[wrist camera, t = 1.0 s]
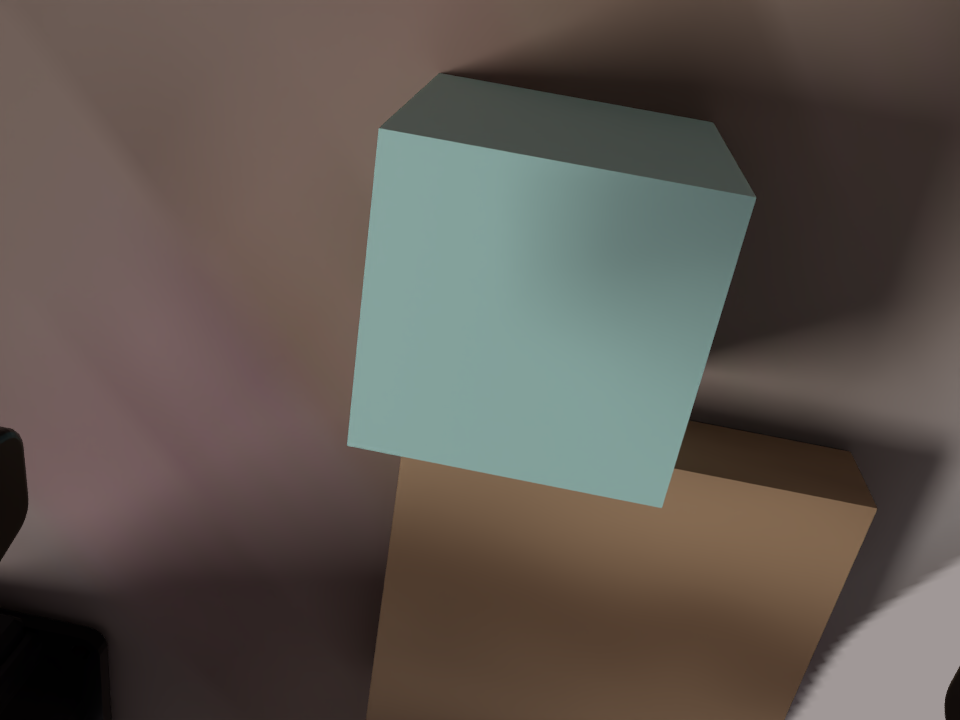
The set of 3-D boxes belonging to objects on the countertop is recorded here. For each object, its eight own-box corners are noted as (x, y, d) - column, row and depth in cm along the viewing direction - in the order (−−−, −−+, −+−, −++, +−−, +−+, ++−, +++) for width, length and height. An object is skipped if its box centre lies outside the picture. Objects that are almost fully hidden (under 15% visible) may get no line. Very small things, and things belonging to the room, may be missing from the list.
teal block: (646, 365, 18) (661, 507, 14) (408, 319, 18) (346, 445, 14) (712, 121, 16) (756, 197, 11) (440, 72, 16) (378, 128, 12)
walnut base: (729, 747, 22) (740, 818, 21) (381, 675, 23) (363, 738, 21) (850, 451, 18) (877, 508, 17) (425, 369, 19) (406, 415, 17)
